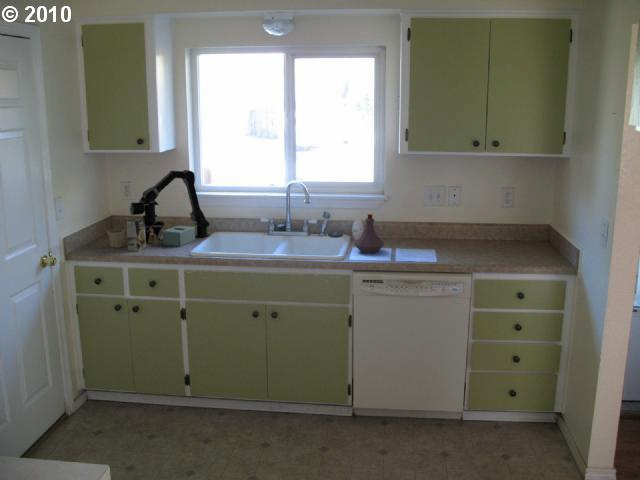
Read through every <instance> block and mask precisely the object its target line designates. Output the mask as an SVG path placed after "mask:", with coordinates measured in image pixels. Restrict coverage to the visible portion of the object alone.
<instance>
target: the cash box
mask: <svg viewBox="0 0 640 480" xmlns="http://www.w3.org/2000/svg"><path fill="white" fill-rule="evenodd" d="M161 232H162V235H161V236H163V240H162V245H163V246H168V247H178V248H181V247H183V246H186V245H188V244H191V243H194V242H196V237H195V236H196V227H195V226H187V225H186V226H185V225H176V226H173V227H170V228H167V229H164V230H162V231H161Z"/></svg>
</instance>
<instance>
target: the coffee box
mask: <svg viewBox="0 0 640 480" xmlns="http://www.w3.org/2000/svg"><path fill="white" fill-rule="evenodd" d="M137 218H138V219H136V218H132V219H130V220H129V219H128V220H127V221H126V236H127V251H133V252H140V251H142V250H144V249H146V248H147V243H146V237H145V219H142V218H139V217H137Z"/></svg>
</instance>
